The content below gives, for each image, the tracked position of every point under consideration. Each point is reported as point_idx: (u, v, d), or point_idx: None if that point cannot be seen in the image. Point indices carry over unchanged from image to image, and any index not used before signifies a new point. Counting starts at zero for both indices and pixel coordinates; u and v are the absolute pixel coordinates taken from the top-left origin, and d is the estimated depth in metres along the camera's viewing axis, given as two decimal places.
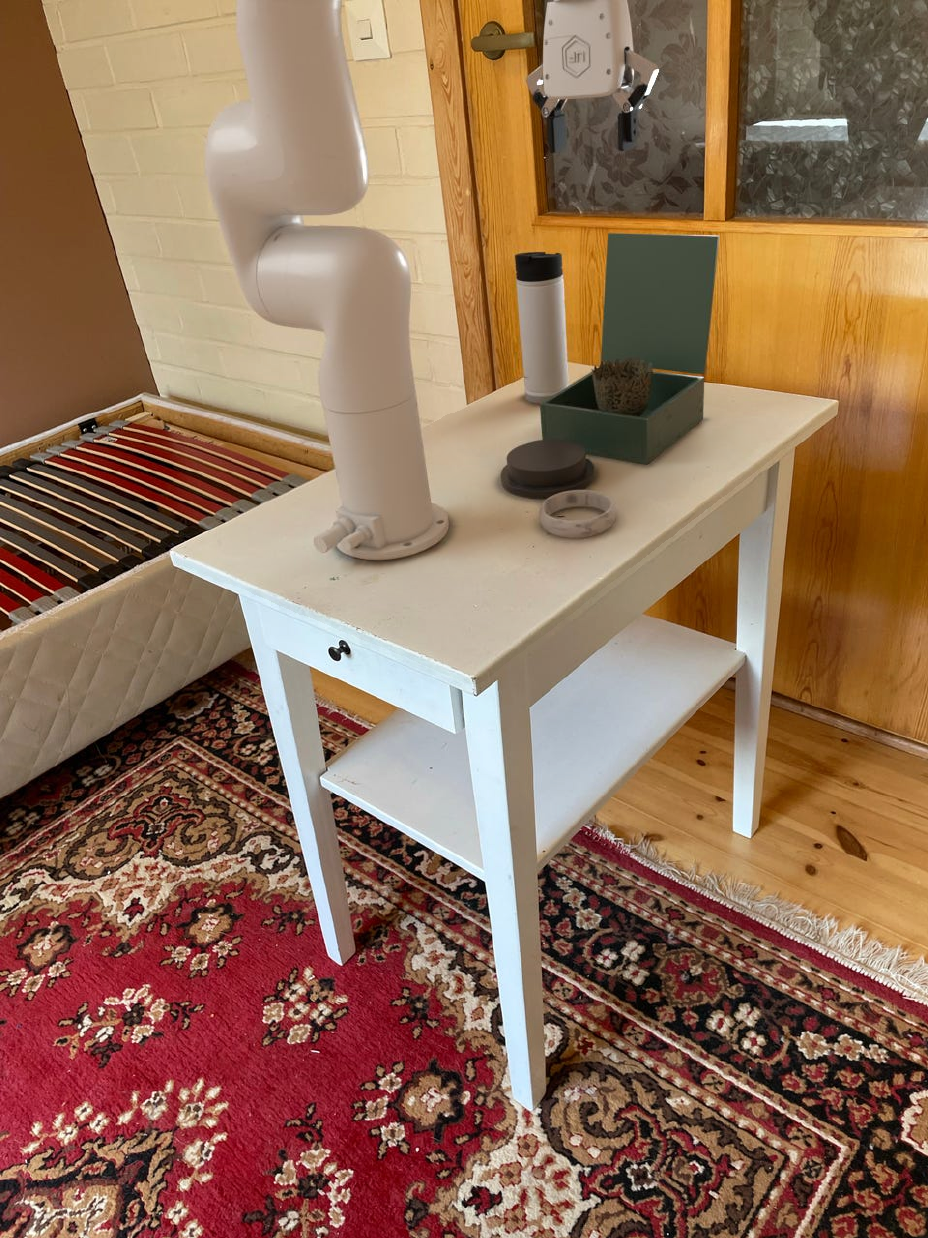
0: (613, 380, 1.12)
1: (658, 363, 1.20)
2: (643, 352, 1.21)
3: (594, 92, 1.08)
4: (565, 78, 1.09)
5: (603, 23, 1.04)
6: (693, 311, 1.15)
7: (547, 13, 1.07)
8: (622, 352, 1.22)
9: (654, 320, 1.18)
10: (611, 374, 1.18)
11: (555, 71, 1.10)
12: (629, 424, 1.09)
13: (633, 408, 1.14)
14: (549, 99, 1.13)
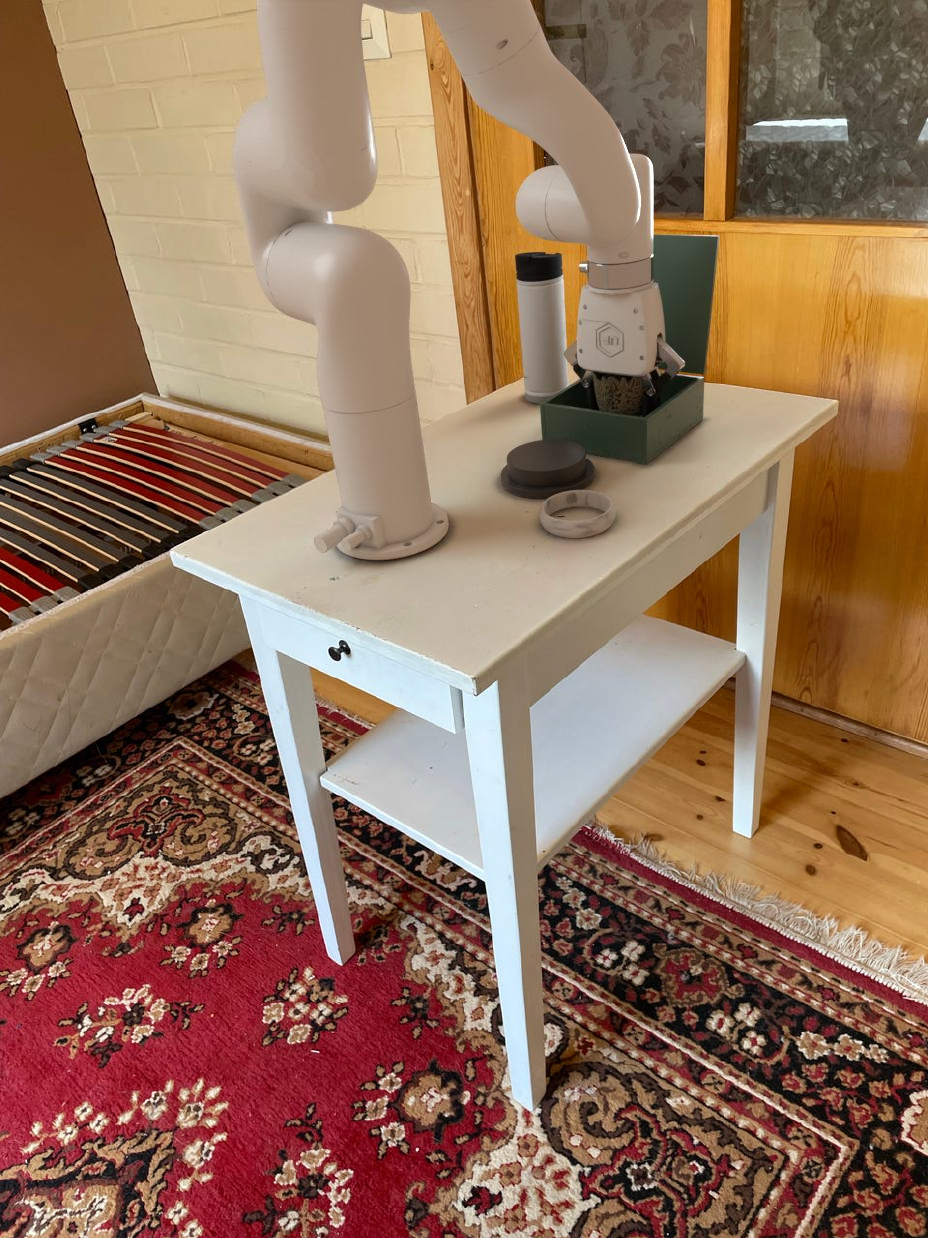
0: (613, 380, 1.12)
1: None
2: None
3: (627, 373, 1.11)
4: (598, 356, 1.13)
5: (637, 317, 1.07)
6: (693, 311, 1.15)
7: (582, 298, 1.11)
8: None
9: None
10: (611, 374, 1.18)
11: (589, 348, 1.13)
12: (629, 424, 1.09)
13: (633, 408, 1.14)
14: (587, 372, 1.17)
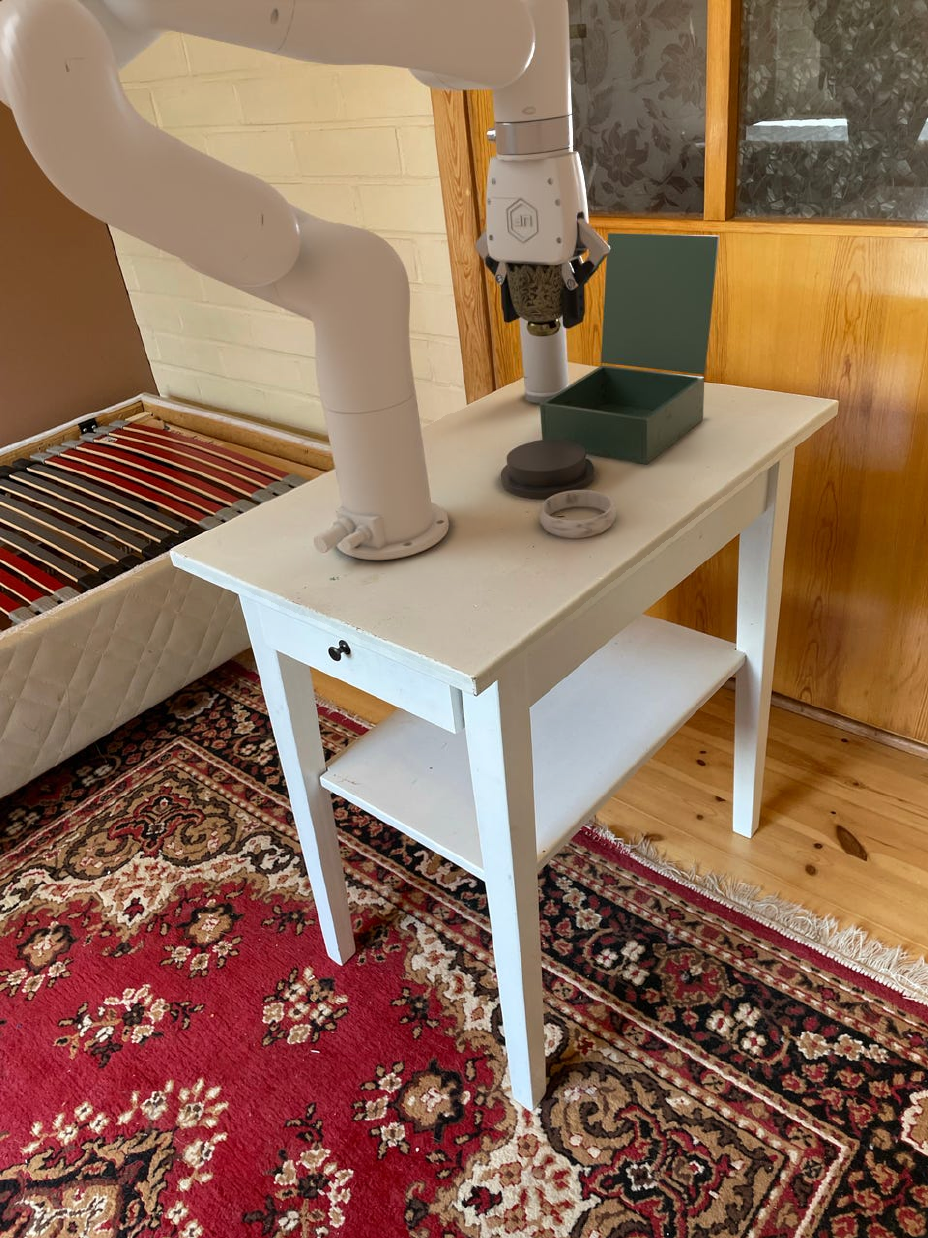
0: (527, 269, 0.95)
1: (658, 363, 1.20)
2: (643, 352, 1.21)
3: (543, 260, 0.95)
4: (511, 242, 0.96)
5: (551, 189, 0.90)
6: (693, 311, 1.15)
7: (490, 171, 0.94)
8: (622, 352, 1.22)
9: (654, 320, 1.18)
10: None
11: (499, 233, 0.96)
12: (629, 424, 1.09)
13: (552, 305, 0.97)
14: (500, 265, 1.00)
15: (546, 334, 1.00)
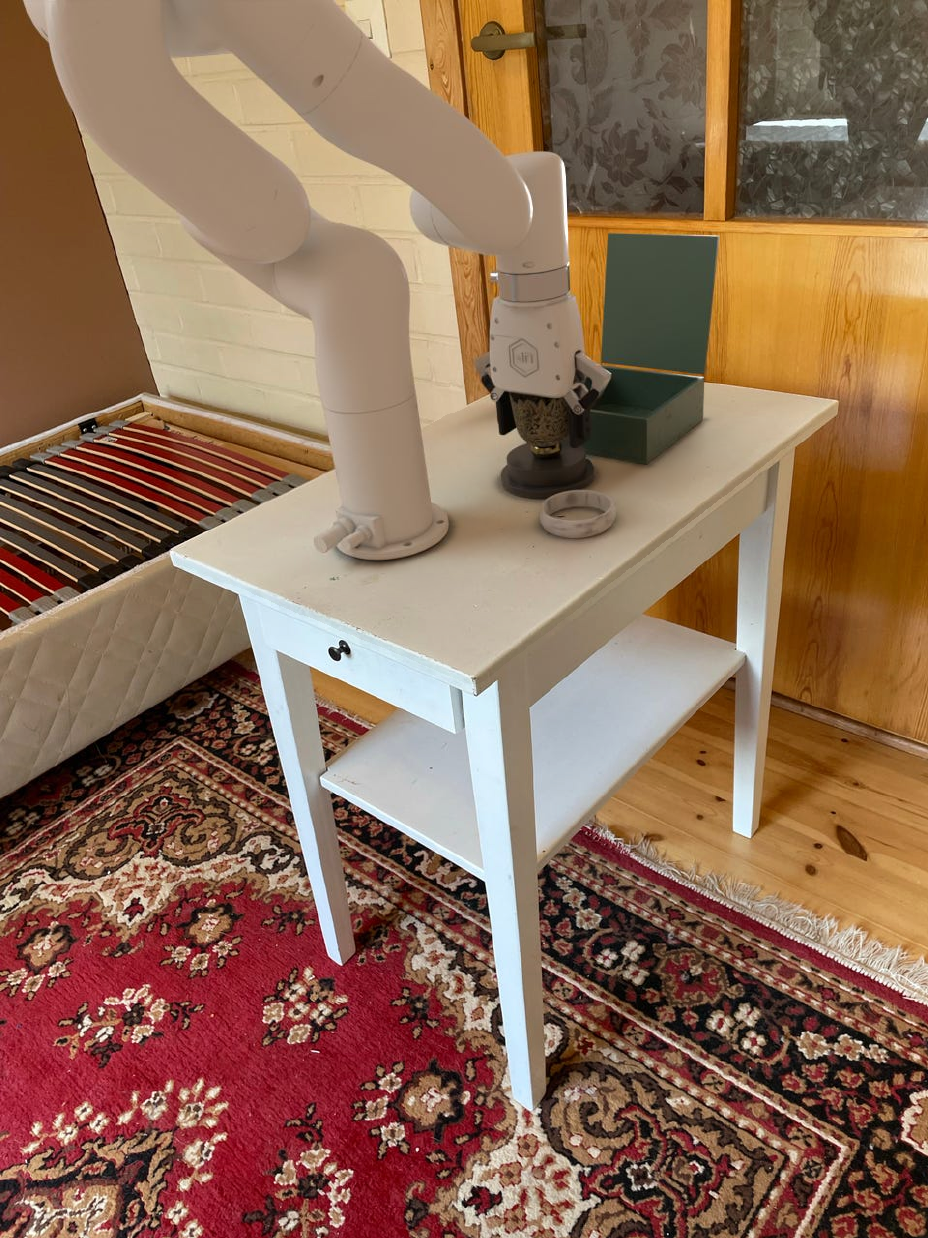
0: (530, 403, 1.02)
1: (658, 363, 1.20)
2: (643, 352, 1.21)
3: (543, 393, 1.01)
4: (513, 375, 1.02)
5: (550, 333, 0.97)
6: (693, 311, 1.15)
7: (493, 311, 1.00)
8: (622, 352, 1.22)
9: (654, 320, 1.18)
10: (532, 395, 1.08)
11: (502, 366, 1.03)
12: (629, 424, 1.09)
13: (554, 433, 1.04)
14: None
15: (549, 457, 1.07)
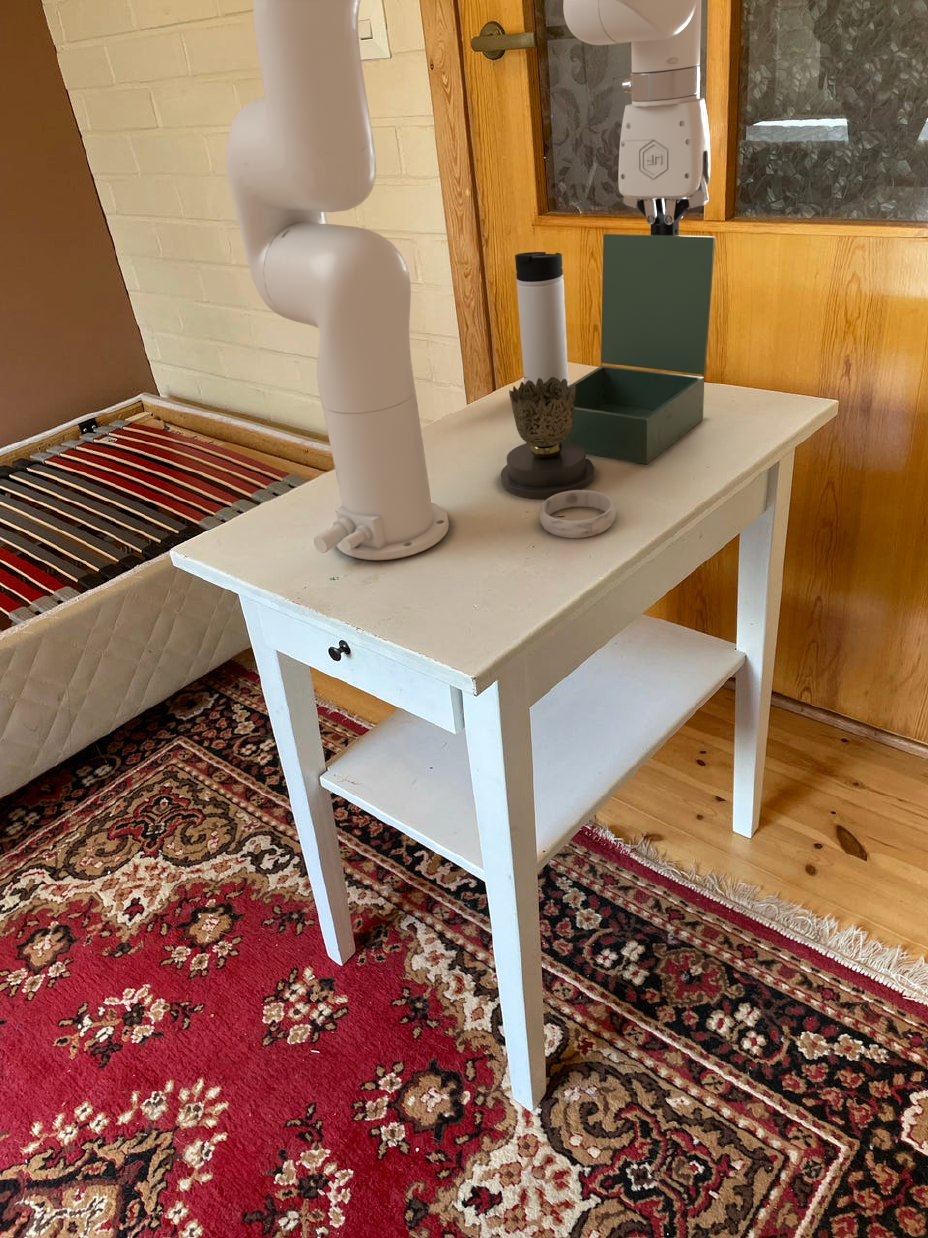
0: (530, 403, 1.02)
1: (658, 363, 1.20)
2: (643, 352, 1.20)
3: (671, 194, 1.09)
4: (641, 179, 1.10)
5: (682, 130, 1.05)
6: (691, 312, 1.14)
7: (625, 116, 1.08)
8: (622, 352, 1.22)
9: (652, 321, 1.18)
10: (532, 395, 1.08)
11: (631, 172, 1.11)
12: (629, 424, 1.09)
13: (554, 433, 1.04)
14: (646, 207, 1.13)
15: (549, 457, 1.07)
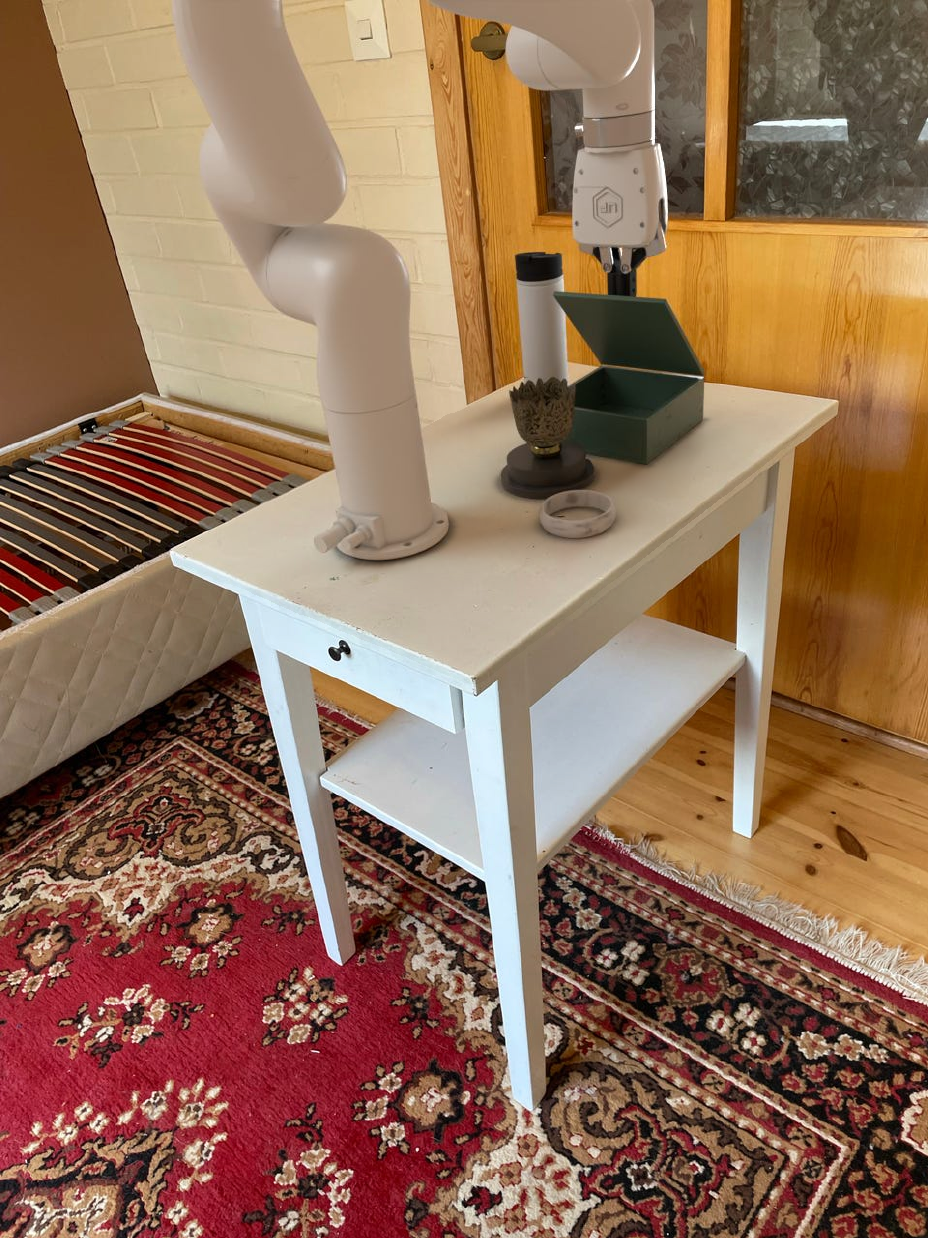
0: (530, 403, 1.02)
1: (656, 368, 1.20)
2: (638, 361, 1.20)
3: (626, 243, 1.04)
4: (596, 227, 1.05)
5: (637, 178, 1.00)
6: (670, 343, 1.12)
7: (577, 162, 1.03)
8: (617, 360, 1.22)
9: (635, 345, 1.16)
10: (532, 395, 1.08)
11: (585, 219, 1.05)
12: (629, 424, 1.09)
13: (554, 433, 1.04)
14: (602, 255, 1.08)
15: (549, 457, 1.07)
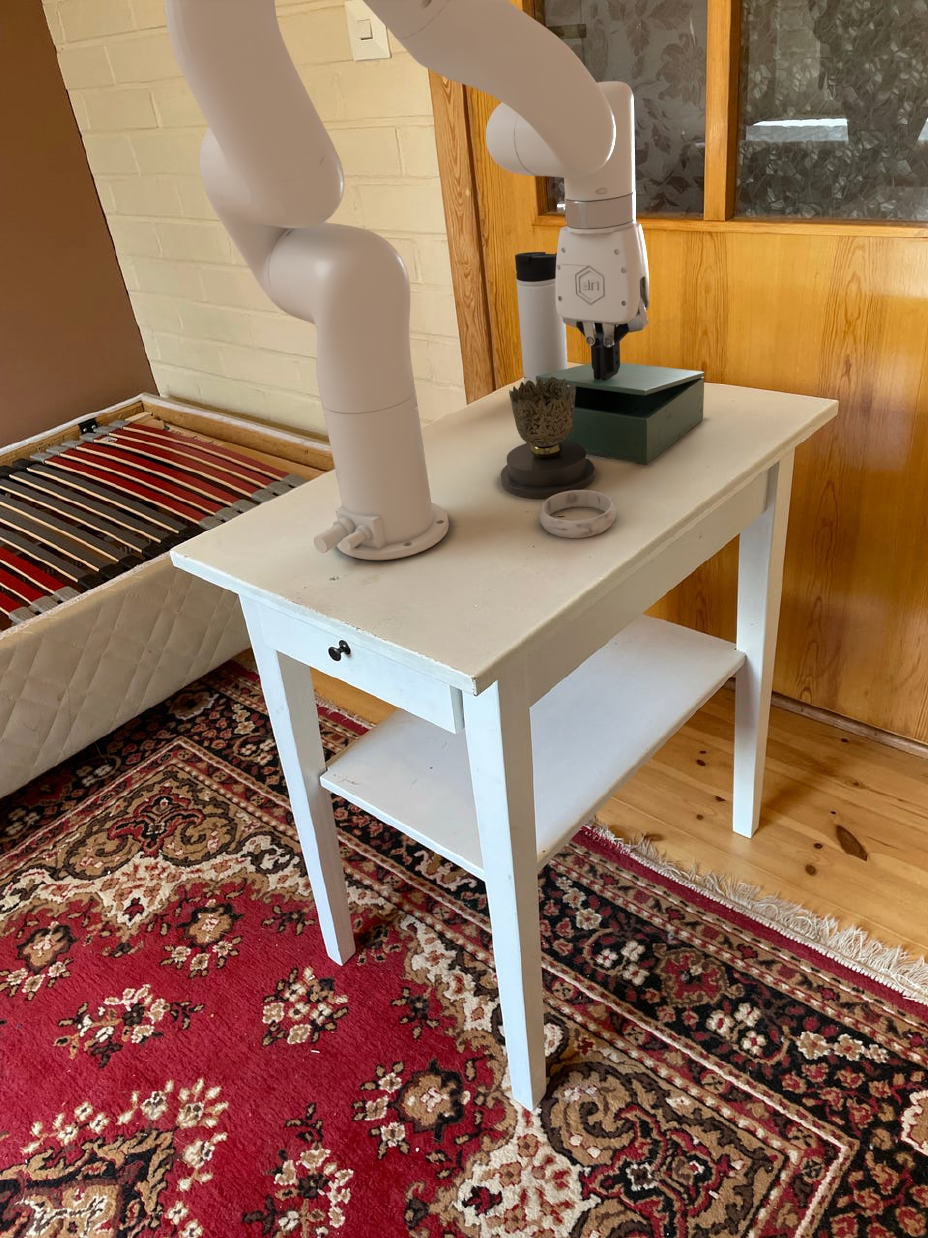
0: (530, 403, 1.02)
1: None
2: None
3: (608, 320, 1.05)
4: (578, 303, 1.06)
5: (618, 258, 1.01)
6: None
7: (560, 240, 1.04)
8: None
9: None
10: (532, 395, 1.08)
11: (568, 295, 1.06)
12: (629, 424, 1.09)
13: (554, 433, 1.04)
14: (585, 328, 1.09)
15: (549, 457, 1.07)
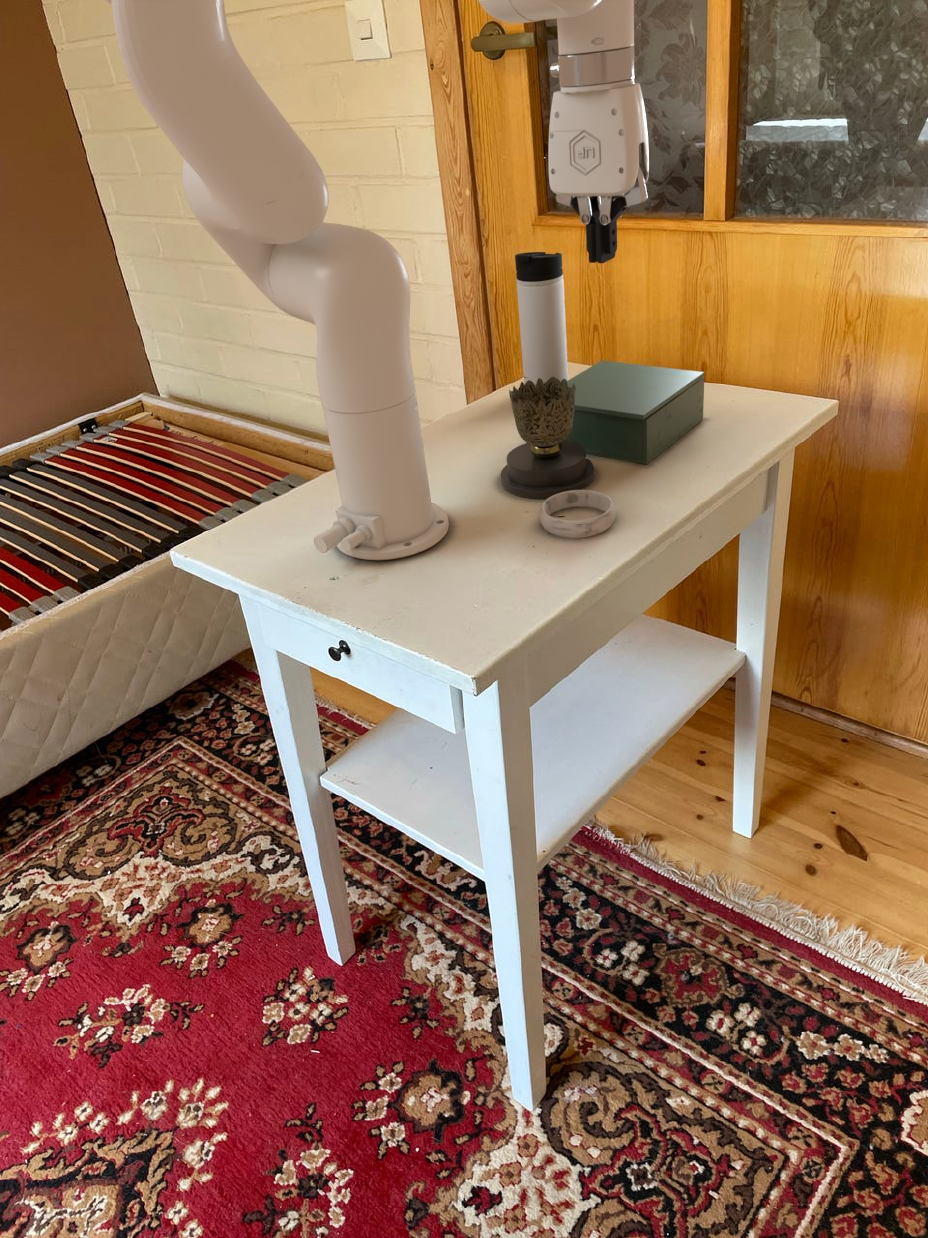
0: (530, 403, 1.02)
1: None
2: None
3: (605, 191, 0.98)
4: (573, 174, 0.99)
5: (615, 119, 0.94)
6: None
7: (553, 104, 0.97)
8: None
9: None
10: (532, 395, 1.08)
11: (562, 166, 0.99)
12: (629, 424, 1.09)
13: (554, 433, 1.04)
14: (580, 205, 1.02)
15: (549, 457, 1.07)
